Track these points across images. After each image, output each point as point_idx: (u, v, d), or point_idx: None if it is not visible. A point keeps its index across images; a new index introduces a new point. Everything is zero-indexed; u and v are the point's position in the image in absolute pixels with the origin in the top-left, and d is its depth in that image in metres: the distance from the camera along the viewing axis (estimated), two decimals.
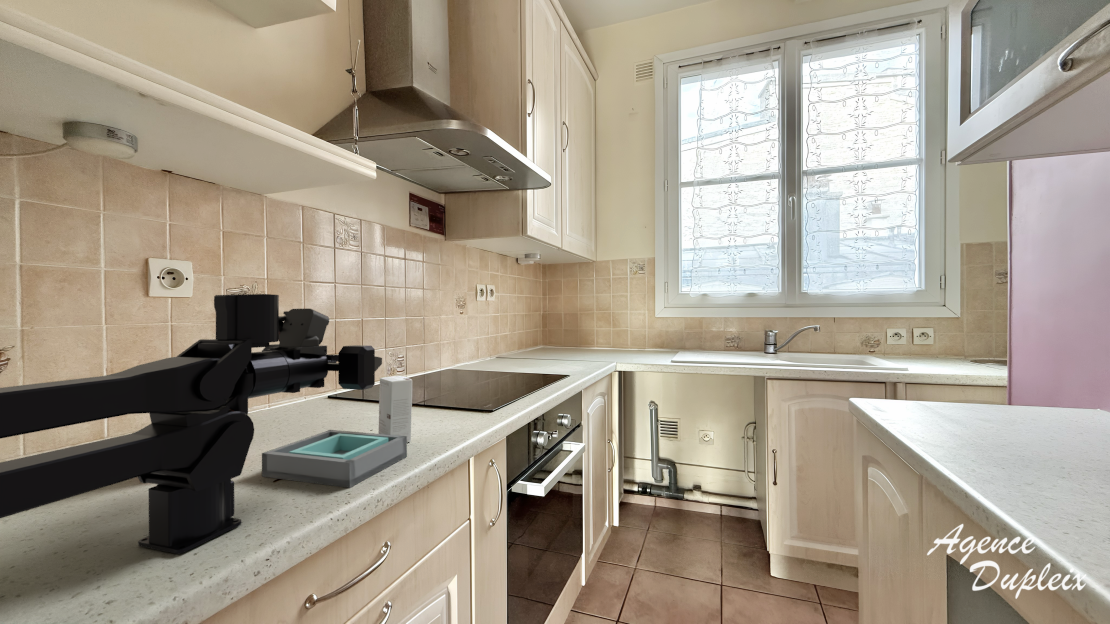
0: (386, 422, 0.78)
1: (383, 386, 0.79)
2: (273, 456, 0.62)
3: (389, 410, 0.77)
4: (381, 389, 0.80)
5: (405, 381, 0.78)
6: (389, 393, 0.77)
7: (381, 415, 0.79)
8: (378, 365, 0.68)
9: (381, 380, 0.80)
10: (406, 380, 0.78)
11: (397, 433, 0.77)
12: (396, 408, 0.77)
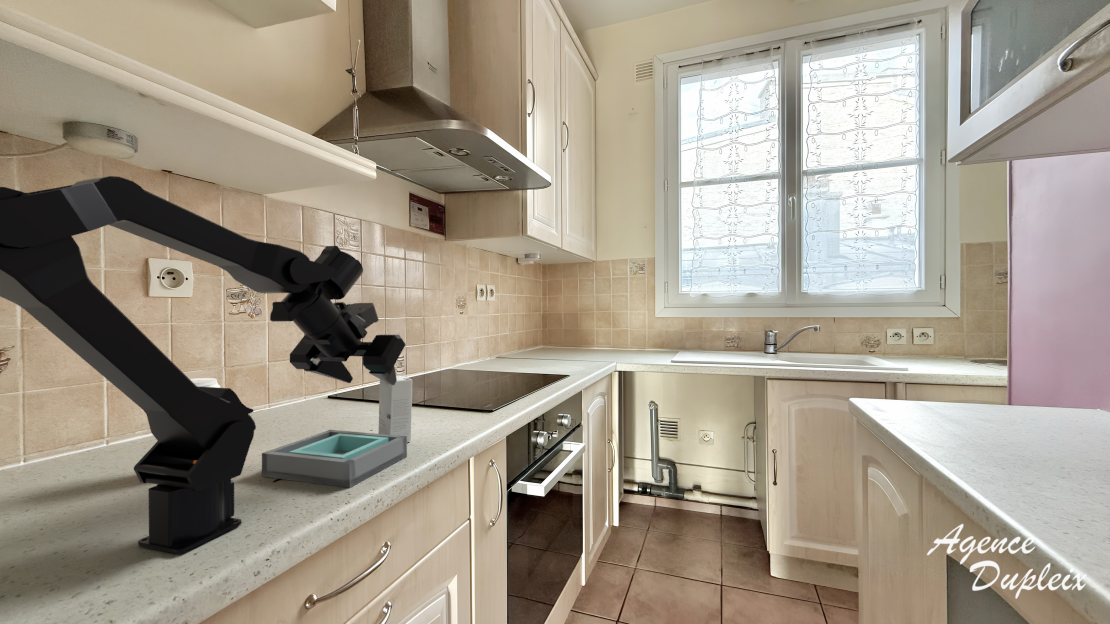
0: (386, 422, 0.78)
1: (383, 386, 0.79)
2: (273, 456, 0.62)
3: (389, 410, 0.77)
4: (381, 389, 0.80)
5: (405, 381, 0.78)
6: (389, 393, 0.77)
7: (381, 415, 0.79)
8: (392, 381, 0.71)
9: (381, 380, 0.80)
10: (406, 380, 0.78)
11: (397, 433, 0.77)
12: (396, 408, 0.77)
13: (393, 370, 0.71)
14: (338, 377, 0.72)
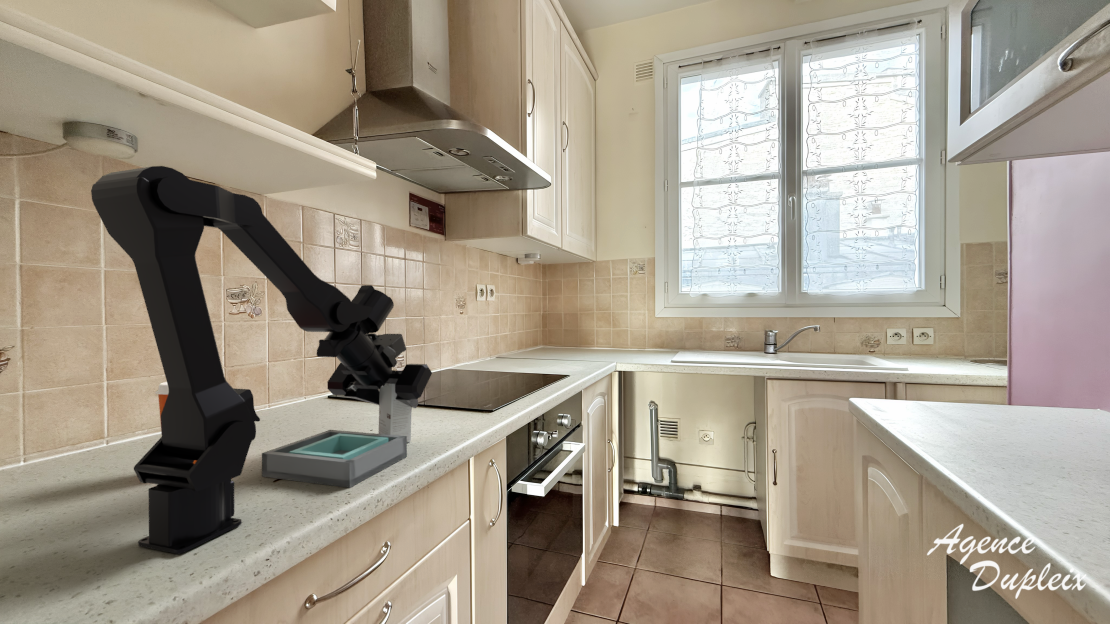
0: (386, 422, 0.78)
1: None
2: (273, 456, 0.62)
3: (389, 410, 0.77)
4: (381, 389, 0.80)
5: None
6: (389, 393, 0.77)
7: (381, 414, 0.79)
8: (414, 404, 0.79)
9: None
10: None
11: (397, 433, 0.77)
12: (396, 407, 0.77)
13: None
14: (373, 401, 0.79)
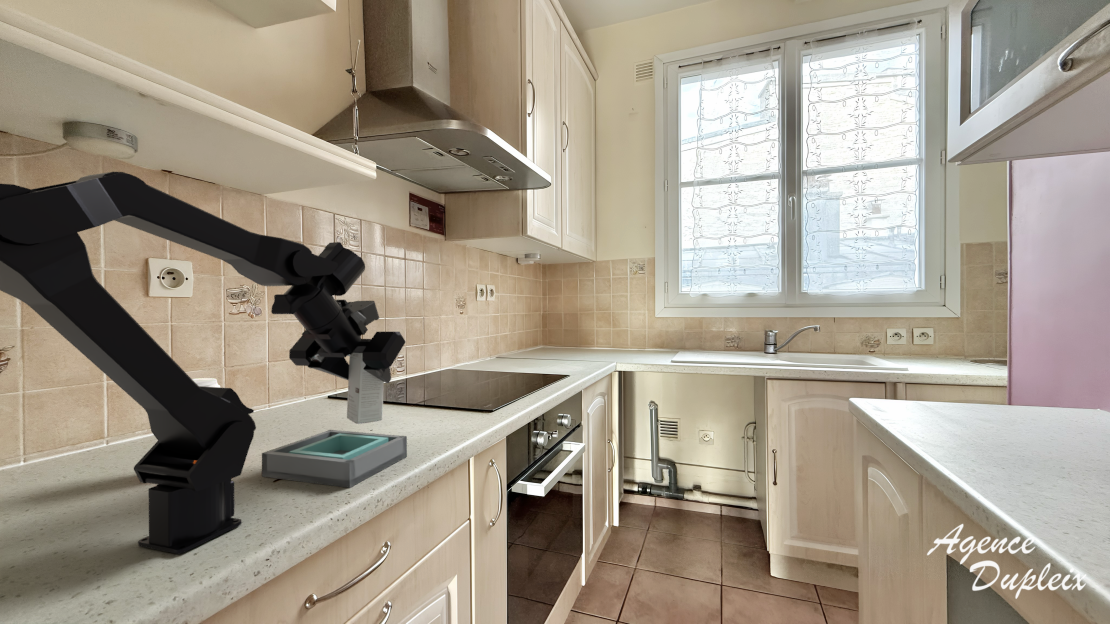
0: (354, 397, 0.70)
1: (353, 358, 0.72)
2: (273, 456, 0.62)
3: (357, 383, 0.69)
4: (351, 362, 0.73)
5: None
6: (358, 364, 0.69)
7: (350, 390, 0.72)
8: (386, 378, 0.71)
9: None
10: None
11: (366, 409, 0.70)
12: (365, 381, 0.70)
13: (388, 368, 0.71)
14: (341, 375, 0.72)
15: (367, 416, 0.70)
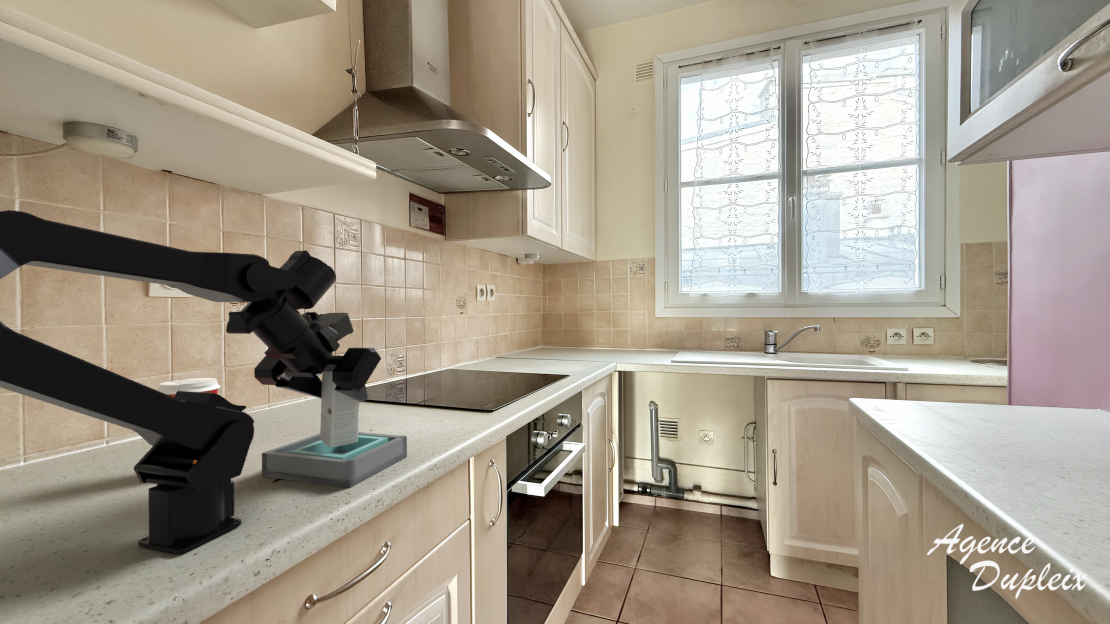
0: (326, 418, 0.64)
1: (325, 375, 0.66)
2: (273, 456, 0.62)
3: (330, 403, 0.64)
4: (323, 379, 0.67)
5: None
6: (330, 383, 0.64)
7: (323, 410, 0.66)
8: (362, 397, 0.66)
9: None
10: None
11: (340, 431, 0.64)
12: (338, 400, 0.64)
13: (363, 386, 0.65)
14: (313, 393, 0.66)
15: (341, 438, 0.64)
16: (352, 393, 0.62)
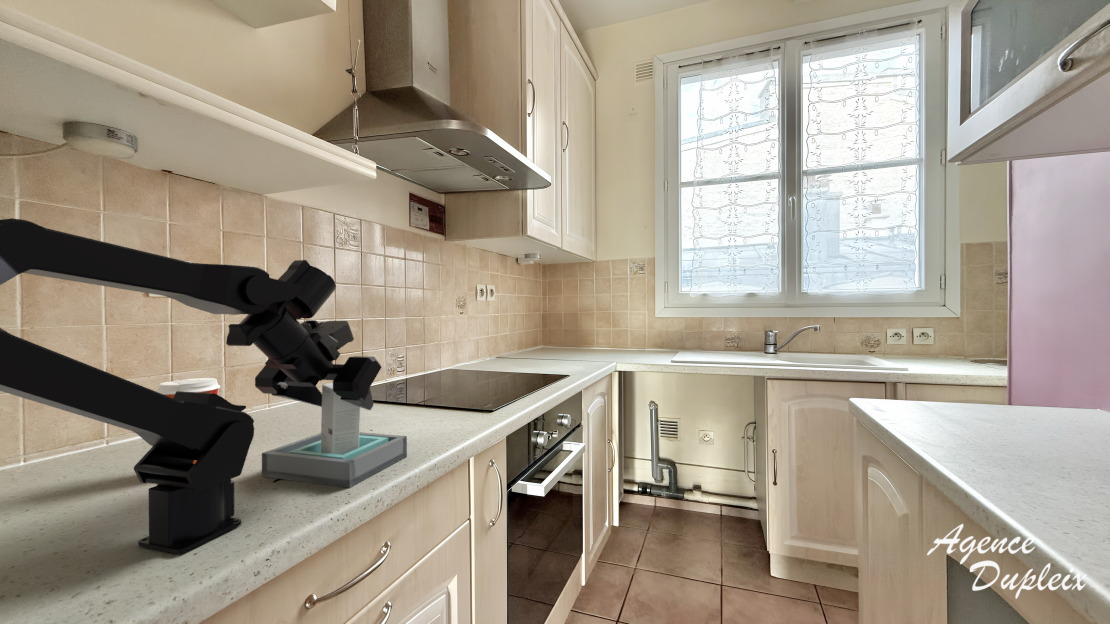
0: (327, 438, 0.64)
1: (326, 395, 0.66)
2: (273, 456, 0.62)
3: (330, 423, 0.63)
4: (323, 398, 0.67)
5: None
6: (331, 403, 0.64)
7: (323, 429, 0.66)
8: (368, 406, 0.65)
9: (323, 387, 0.67)
10: None
11: (341, 451, 0.64)
12: (339, 421, 0.64)
13: (369, 394, 0.65)
14: (310, 401, 0.67)
15: None
16: (358, 402, 0.62)
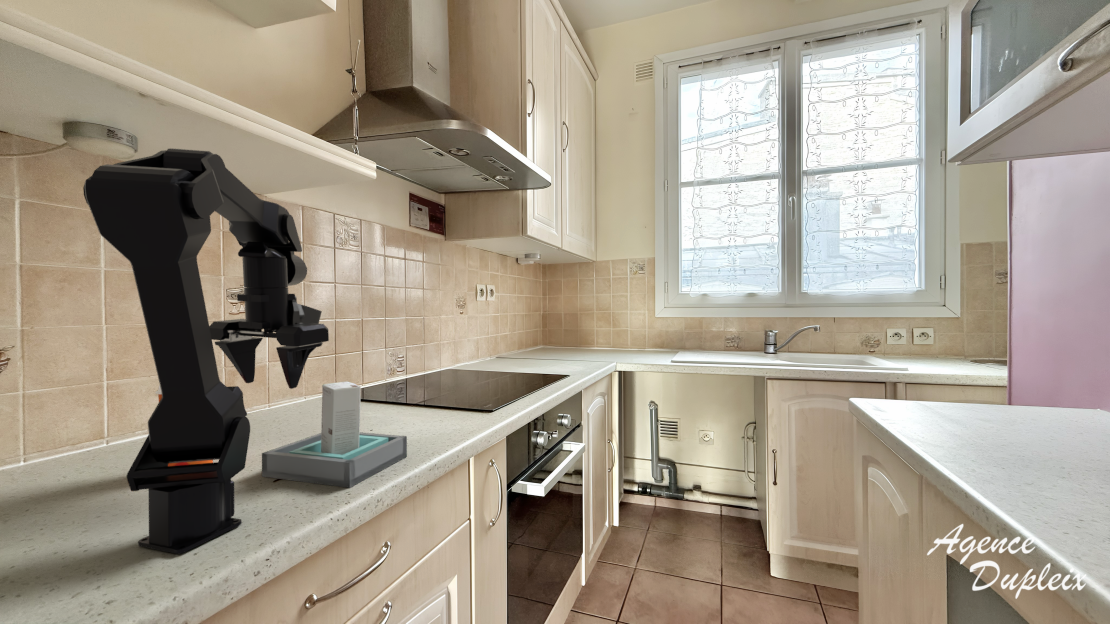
0: (327, 438, 0.64)
1: (326, 395, 0.66)
2: (273, 456, 0.62)
3: (330, 423, 0.64)
4: (324, 398, 0.67)
5: (351, 389, 0.65)
6: (331, 403, 0.64)
7: (323, 429, 0.66)
8: (292, 380, 0.65)
9: (323, 387, 0.67)
10: (353, 387, 0.65)
11: (341, 451, 0.64)
12: (339, 421, 0.64)
13: (300, 369, 0.65)
14: (240, 367, 0.67)
15: None
16: (288, 362, 0.63)
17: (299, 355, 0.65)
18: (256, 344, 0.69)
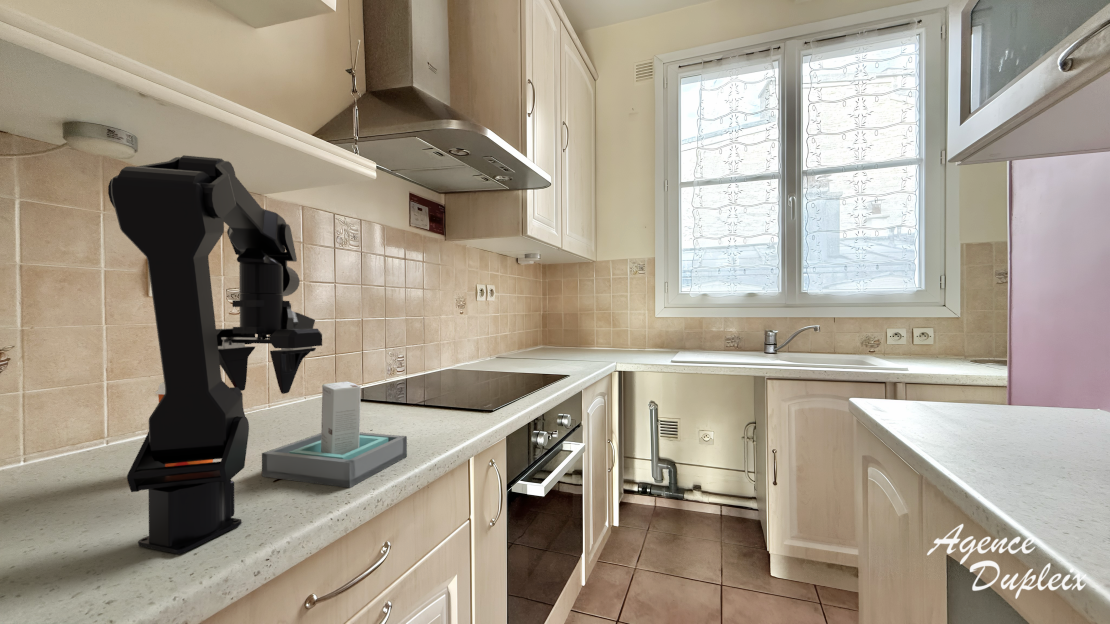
0: (327, 438, 0.64)
1: (326, 395, 0.66)
2: (273, 456, 0.62)
3: (330, 423, 0.64)
4: (324, 398, 0.67)
5: (351, 389, 0.65)
6: (331, 403, 0.64)
7: (323, 429, 0.66)
8: (284, 385, 0.65)
9: (323, 387, 0.67)
10: (353, 387, 0.65)
11: (341, 451, 0.64)
12: (339, 421, 0.64)
13: (293, 374, 0.66)
14: (232, 374, 0.67)
15: None
16: (281, 365, 0.63)
17: (292, 360, 0.66)
18: (249, 352, 0.70)
